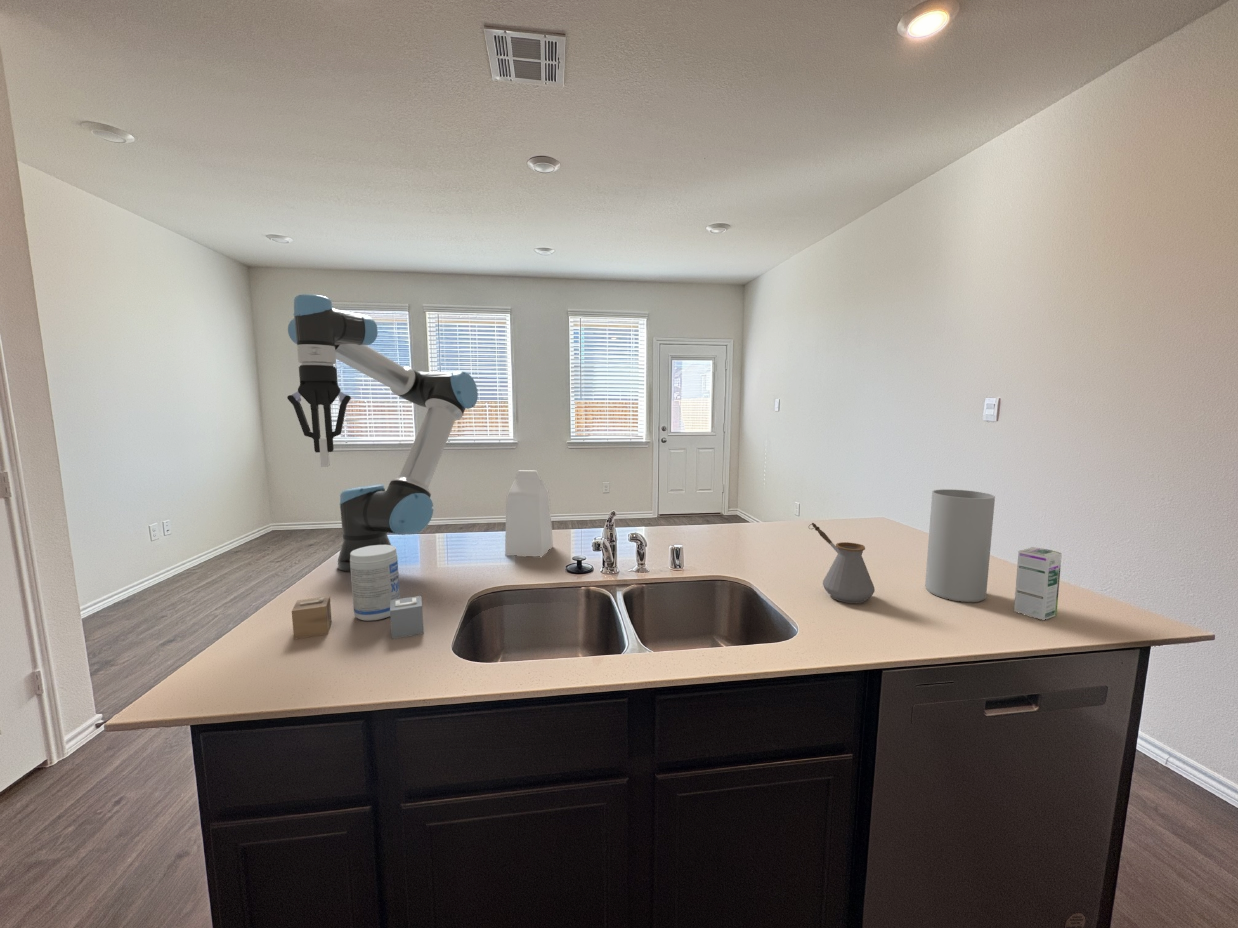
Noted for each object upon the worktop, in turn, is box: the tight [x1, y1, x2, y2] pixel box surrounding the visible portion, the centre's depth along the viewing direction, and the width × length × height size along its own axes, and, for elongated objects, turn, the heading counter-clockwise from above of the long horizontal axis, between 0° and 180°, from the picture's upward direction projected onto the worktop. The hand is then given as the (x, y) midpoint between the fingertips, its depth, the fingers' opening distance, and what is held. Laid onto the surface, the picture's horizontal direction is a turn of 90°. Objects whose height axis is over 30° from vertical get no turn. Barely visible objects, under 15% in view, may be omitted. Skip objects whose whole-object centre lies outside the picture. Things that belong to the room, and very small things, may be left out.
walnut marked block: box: [291, 595, 333, 640], centre depth 104 cm, size 6×6×6 cm
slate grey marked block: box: [389, 595, 425, 640], centre depth 104 cm, size 6×6×6 cm
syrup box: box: [1013, 546, 1062, 621], centre depth 110 cm, size 6×6×14 cm
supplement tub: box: [350, 544, 401, 621], centre depth 112 cm, size 10×10×15 cm
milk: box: [504, 469, 554, 557], centre depth 159 cm, size 12×12×26 cm
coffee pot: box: [808, 522, 876, 604], centre depth 125 cm, size 21×12×15 cm, turn 13°
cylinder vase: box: [924, 488, 996, 603], centre depth 122 cm, size 12×12×25 cm
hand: (325, 465), depth 119 cm, fingers closed
